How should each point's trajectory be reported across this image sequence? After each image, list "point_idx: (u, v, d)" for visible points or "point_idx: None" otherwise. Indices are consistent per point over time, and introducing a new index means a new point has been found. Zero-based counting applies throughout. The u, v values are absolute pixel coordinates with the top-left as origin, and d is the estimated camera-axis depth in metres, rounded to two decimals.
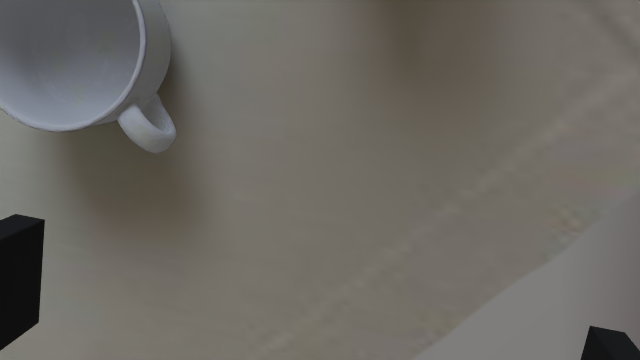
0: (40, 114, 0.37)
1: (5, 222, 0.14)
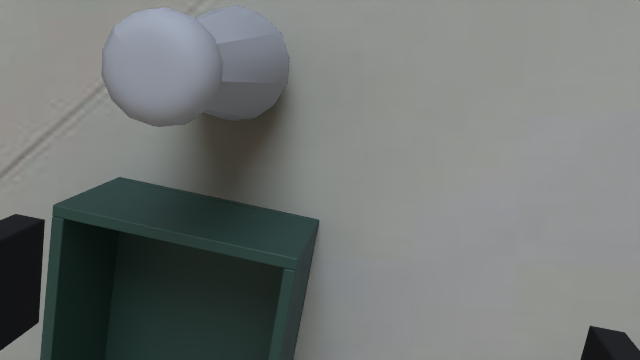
0: None
1: (6, 222, 0.14)
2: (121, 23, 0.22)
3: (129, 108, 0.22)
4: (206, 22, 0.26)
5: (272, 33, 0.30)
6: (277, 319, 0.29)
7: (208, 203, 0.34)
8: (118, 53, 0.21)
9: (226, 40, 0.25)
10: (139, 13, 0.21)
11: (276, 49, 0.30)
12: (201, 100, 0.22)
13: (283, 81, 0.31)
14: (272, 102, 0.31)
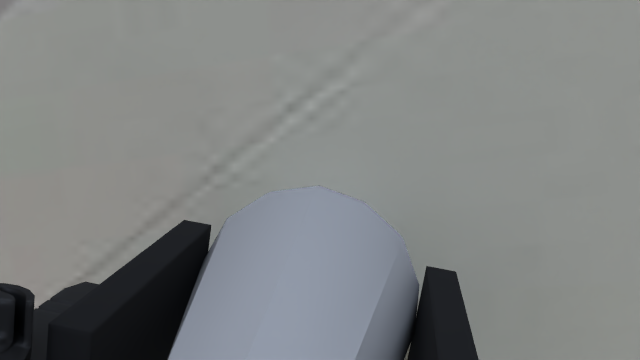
0: None
1: (182, 228, 0.16)
2: None
3: None
4: (282, 317, 0.10)
5: (395, 255, 0.14)
6: None
7: None
8: None
9: None
10: None
11: (404, 287, 0.15)
12: None
13: (411, 336, 0.15)
14: None
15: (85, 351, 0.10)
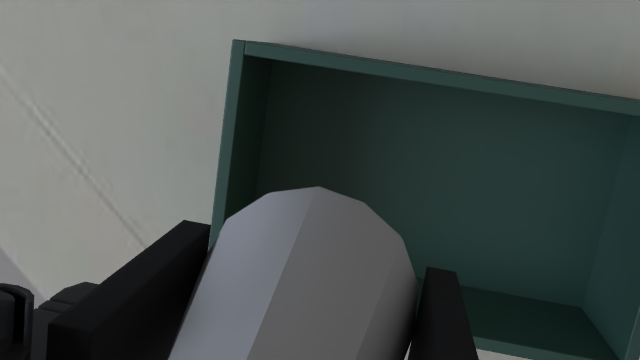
0: None
1: (182, 228, 0.16)
2: None
3: None
4: (281, 318, 0.10)
5: (395, 256, 0.15)
6: (301, 60, 0.27)
7: None
8: None
9: None
10: None
11: (404, 288, 0.15)
12: None
13: (411, 337, 0.15)
14: None
15: (85, 351, 0.10)
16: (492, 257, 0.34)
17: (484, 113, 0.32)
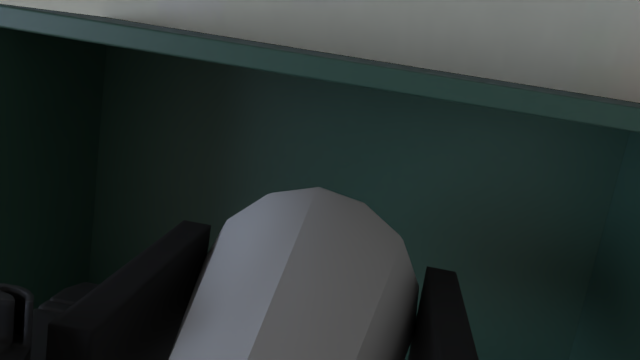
0: None
1: (182, 228, 0.16)
2: None
3: None
4: (281, 319, 0.10)
5: (395, 256, 0.14)
6: (86, 36, 0.16)
7: None
8: None
9: None
10: None
11: (405, 289, 0.15)
12: None
13: (411, 337, 0.15)
14: None
15: (85, 351, 0.10)
16: None
17: (413, 121, 0.22)
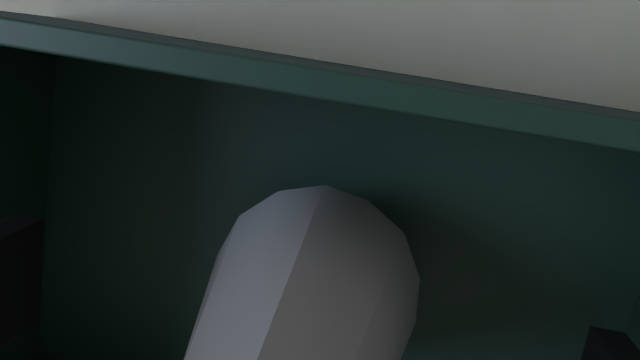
0: None
1: (6, 222, 0.14)
2: None
3: None
4: (295, 303, 0.11)
5: (397, 249, 0.16)
6: (3, 39, 0.13)
7: None
8: None
9: None
10: None
11: (406, 280, 0.16)
12: None
13: (412, 326, 0.16)
14: None
15: None
16: None
17: (418, 141, 0.18)
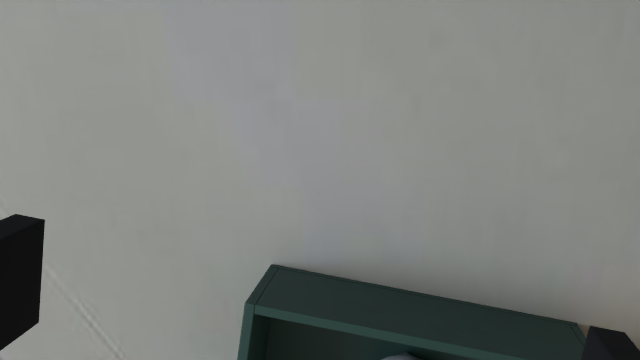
0: None
1: (5, 222, 0.14)
2: None
3: None
4: None
5: None
6: (298, 321, 0.34)
7: None
8: None
9: None
10: None
11: None
12: None
13: None
14: None
15: None
16: None
17: None
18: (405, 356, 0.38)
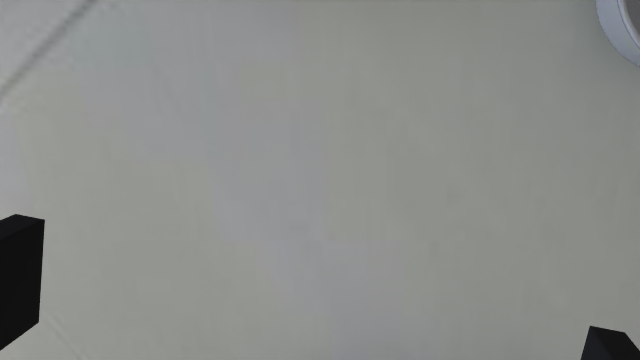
0: None
1: (6, 223, 0.14)
2: None
3: None
4: None
5: None
6: None
7: None
8: None
9: None
10: None
11: None
12: None
13: None
14: None
15: None
16: None
17: None
18: None
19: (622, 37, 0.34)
